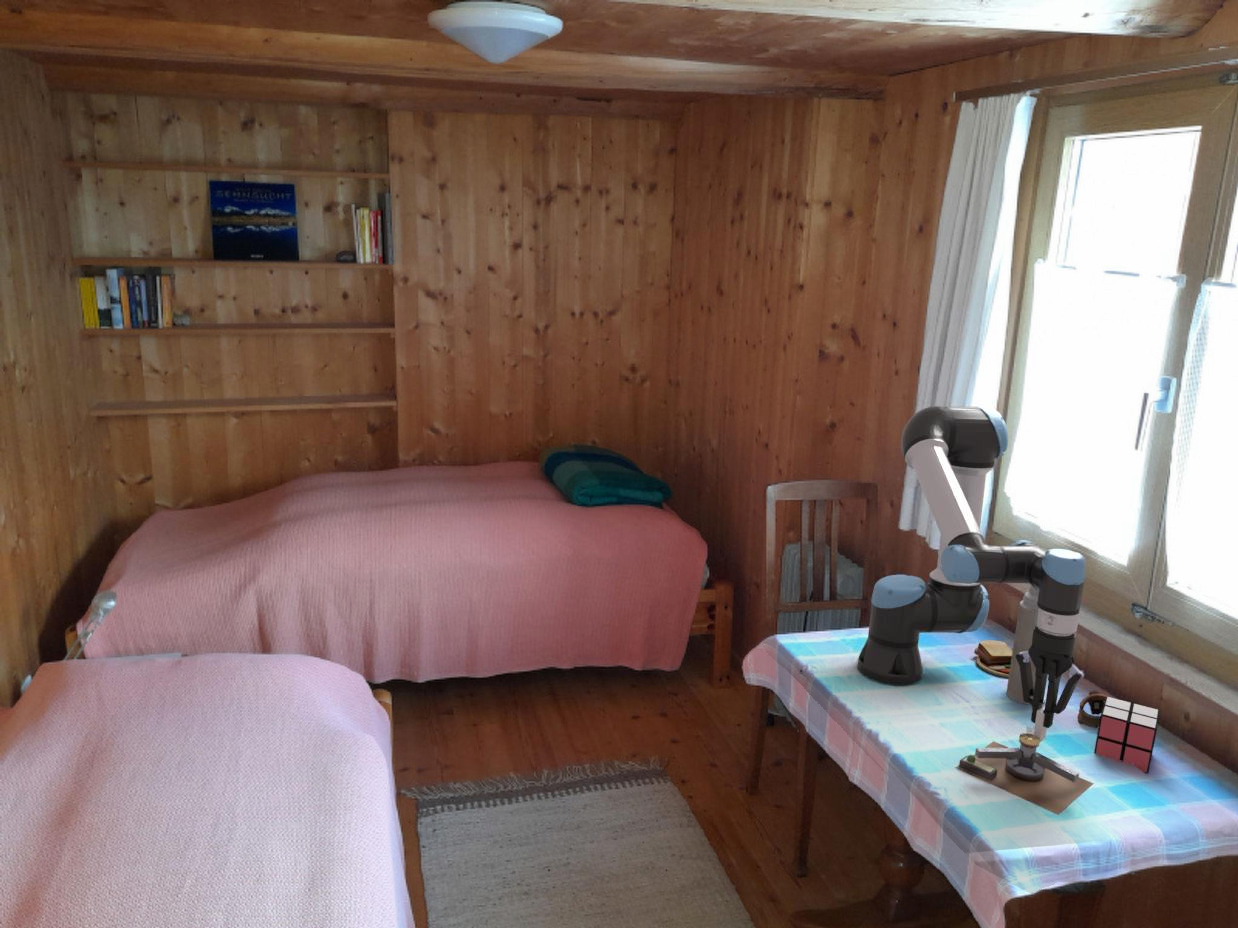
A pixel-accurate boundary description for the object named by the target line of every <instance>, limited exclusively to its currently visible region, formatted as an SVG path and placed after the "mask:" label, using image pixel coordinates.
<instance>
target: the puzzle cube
mask: <svg viewBox="0 0 1238 928" xmlns="http://www.w3.org/2000/svg"><path fill="white" fill-rule="evenodd" d="M1160 712H1161V711H1160V710H1159V709H1157V708H1153V707H1150V706H1149V707H1148V706H1145V705H1141V704H1137V703H1133V704H1132V702H1130V701H1125V700H1122V699H1117V698H1114V697H1110V696H1109V697H1106V698H1105V701H1104V705H1103V709H1102V712H1101V713H1100V715H1099V716H1100V722H1099V726H1098V727H1097V728H1098V729H1097V734H1096V740H1095V745H1094V752H1093V754H1096V755H1098V756H1102V757H1106V758H1109V759H1113V760H1116V761H1121V762H1123V763H1126V764H1130V765H1133V766H1134V767H1135V768H1137V769H1139V770H1140V771H1141V772H1142V773H1144V774H1149V773H1150V767H1151V762H1152V756H1153V751H1154V746H1155V742H1156V738H1157V737H1156V736H1157V730H1158V725H1159V720H1160V719H1159V717H1160Z"/></svg>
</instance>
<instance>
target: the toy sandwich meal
mask: <svg viewBox="0 0 1238 928" xmlns="http://www.w3.org/2000/svg"><path fill="white" fill-rule="evenodd" d="M1007 644H1008V643H1006V642H1004V641H1001V640H993V639H992V640H991V639H990V640H989V639H986V640H980V641H979V642H978V645H977V648H976V647H975V649H974V651H973V653H974V654H975V655H976V656H977V657H976V664H978V666H979V667H980V668H981V669H982V670H984V671H985V672H988V673H989V674H991V675H994V676H997V677H1003V678H1008V679H1009V672H1010V665H1011V659H1012V652H1013V647H1012V648H1010V647H1009V646H1008V645H1007Z"/></svg>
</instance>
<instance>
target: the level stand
mask: <svg viewBox="0 0 1238 928" xmlns="http://www.w3.org/2000/svg"><path fill="white" fill-rule="evenodd" d="M984 748H1010V747H1008V746H1007V745H1004V744H1001V743H999V742H997V741H994V740H993V741H992V742H991V743H989V744H987V745H986V746H985V747H984ZM1005 764H1006V758H978V757H977V756H976V755H975V754H969V755H965V756H964V757H963V758H961V759H959V764H958V765H957V766H955V769H957V770H959V771H962V772H963V773H966V774H968V775H971V776H973V777H975V778H977V779H979V780H981V781H983V782H986V783H988V784H990V785H992V786H995V787H997V788H999V789H1001V790H1003V791H1006V792H1007V793H1009V794H1011V795H1014V796H1016V797H1019V798H1021V799H1023V800H1025V801H1027V802H1029V803H1032V804H1034V805H1035V806H1038V807H1040V808H1042V809H1045V810H1046V811H1049V812H1051V813H1053V814H1056V815H1060V814H1061V813H1062V812H1063V811H1064V810H1066V809H1067V808H1068V806H1071V804H1072V803H1074V802H1075V801H1076V800H1077V799H1079V797H1080V796H1081V795H1082V794H1084V793H1085V792H1086V791H1087V790H1088V789H1089V788H1090V787H1092V786H1093V784H1094V783H1093V782H1091V781H1089V780H1087V779H1085V778H1081V777H1080V776H1079V778H1078V781H1076V782H1072V781H1070V780H1068V779H1066V778H1064V777H1062V776H1060V775H1058V774H1056V773H1054V772H1052V771H1050V770H1049V769H1047V768H1045V772H1044V778H1043V779H1042V780H1040V781H1035V782H1031V781H1024V780H1021V779H1018V778H1016V777H1014V776H1012V775H1010V774H1009V773H1008V772H1007V771H1006V769H1005Z"/></svg>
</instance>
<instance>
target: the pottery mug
mask: <svg viewBox="0 0 1238 928" xmlns="http://www.w3.org/2000/svg"><path fill="white" fill-rule="evenodd" d="M1088 692H1089V693H1088V695H1086V696H1085V697H1084V698H1083V699H1081V701H1080V703H1079V709H1078V714H1077V718H1076V719H1077V723H1078V724H1079V725H1081V726H1082V725H1084V726H1087V727H1091V728H1094V729H1097V728H1099V722H1100V716H1101V712H1102V709H1103V705H1104V702H1105V698H1106V697H1110V696H1109V695H1107V694H1102V693H1100V692H1099V691H1098V690H1096V689H1093V690H1090V691H1088ZM1086 704H1088V705H1089V709H1090V712H1091V714H1090V713H1087V712H1086V711H1085V710H1084V709H1085V706H1086Z"/></svg>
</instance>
